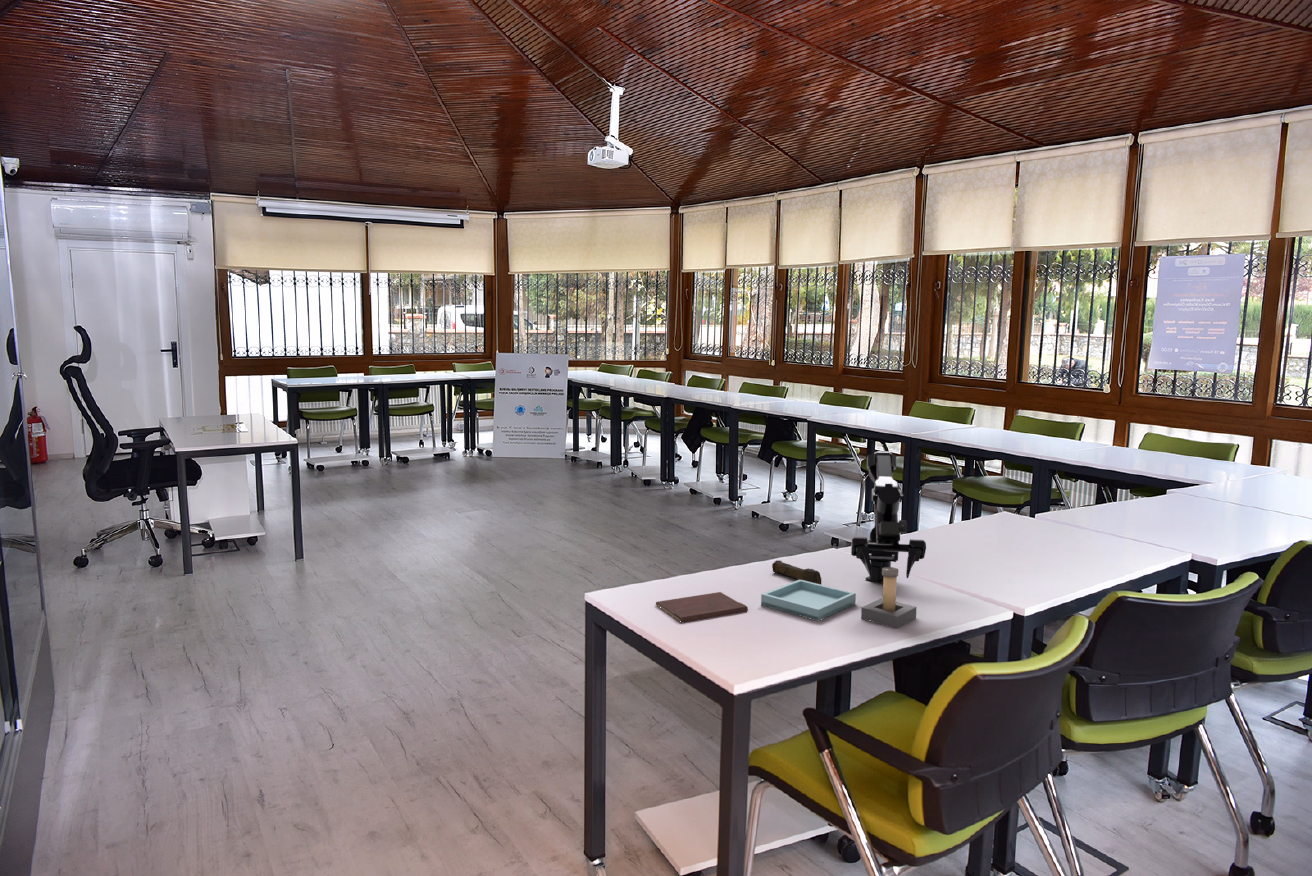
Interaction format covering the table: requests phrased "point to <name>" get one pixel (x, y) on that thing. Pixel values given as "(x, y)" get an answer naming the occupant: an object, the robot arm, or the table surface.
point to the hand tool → (797, 572)
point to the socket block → (888, 613)
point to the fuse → (889, 588)
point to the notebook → (702, 607)
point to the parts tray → (808, 599)
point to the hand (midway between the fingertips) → (889, 576)
